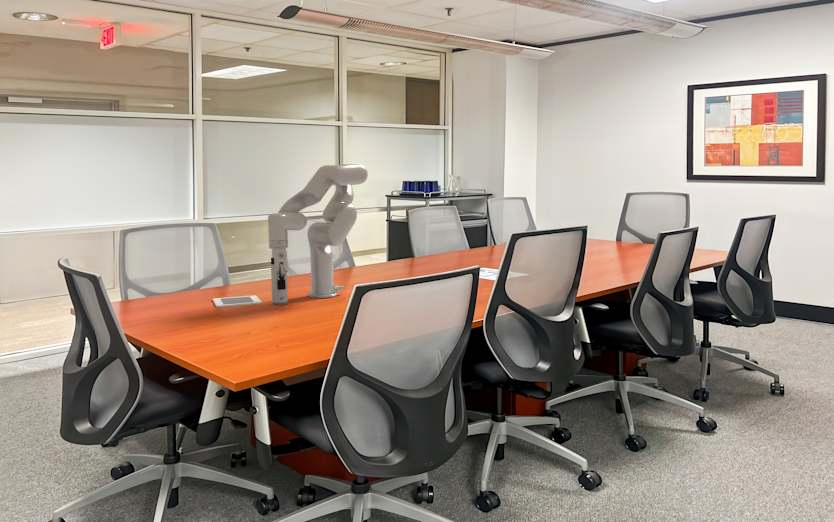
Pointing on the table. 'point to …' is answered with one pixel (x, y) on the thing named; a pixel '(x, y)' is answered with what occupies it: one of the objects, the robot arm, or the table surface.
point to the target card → (236, 301)
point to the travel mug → (277, 295)
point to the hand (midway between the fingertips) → (279, 287)
